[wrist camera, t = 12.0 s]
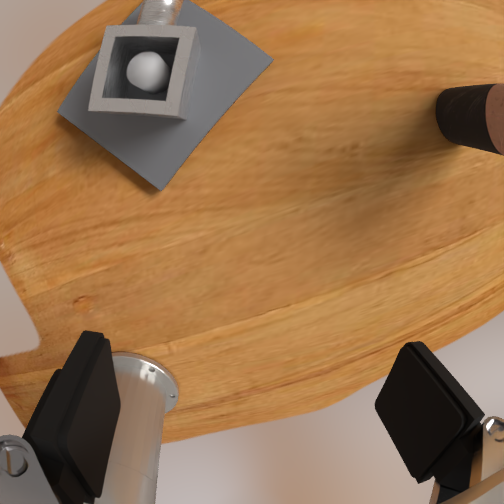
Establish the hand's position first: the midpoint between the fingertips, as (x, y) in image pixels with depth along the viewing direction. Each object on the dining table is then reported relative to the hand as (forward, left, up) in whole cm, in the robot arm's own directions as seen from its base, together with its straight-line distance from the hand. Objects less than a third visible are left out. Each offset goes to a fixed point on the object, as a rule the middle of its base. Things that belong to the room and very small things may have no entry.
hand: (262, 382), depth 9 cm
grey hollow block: (+7, +15, -21) cm, 27 cm away
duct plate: (+5, +13, -23) cm, 27 cm away
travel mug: (+26, -13, -23) cm, 37 cm away
